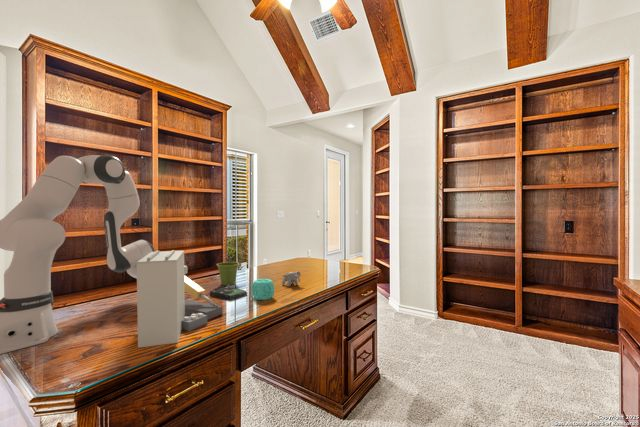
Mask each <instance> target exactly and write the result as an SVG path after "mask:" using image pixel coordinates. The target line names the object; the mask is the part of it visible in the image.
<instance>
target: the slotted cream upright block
mask: <svg viewBox="0 0 640 427" xmlns="http://www.w3.org/2000/svg"><path fill="white" fill-rule="evenodd" d="M184 265H185V250H175V249H172V250H165V251H164V250H163V251H160V250H155V252H151V253H149V254H148V255H146V256H145V257H143V258H142V259H140V260H139V261H137V278H136V296H137V297H136V298H137V304H136V305H137V307H136V308H137V312H136V313H137V348H138V349H139V348H145V347H155V346H161V345H170V344H178V343H179V340H180V337H181V334H182V330H183V329H182V319H183V318H184V317H186V316H185V300H186V296H185V295H186V294H185V293H186V291H185V279H184V275H185V274H184Z"/></svg>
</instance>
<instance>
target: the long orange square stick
mask: <svg viewBox="0 0 640 427" xmlns="http://www.w3.org/2000/svg"><path fill="white" fill-rule="evenodd" d="M184 279H185V293H187V294H188V295H190V296H191V297H192V298H193V299H195V300H200V299H203V300H205V301H206V303H208V304H211V305H213V306H216V307H218V306H219V305H217V303H216V301H214V300H212V299H211V298H209V297H208V296H207V295H205V293H206V289H204V287H201V285H199V284H198V283H196V282H195V281H193V280H192V279H191V278H189V277H187V275H186V274H184Z"/></svg>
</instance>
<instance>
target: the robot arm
mask: <svg viewBox="0 0 640 427" xmlns="http://www.w3.org/2000/svg"><path fill="white" fill-rule="evenodd" d="M81 184H86V185H87V184H94V185H95V184H96V185H98V184H101V185H102V186H103V187H104V189H105V192H106V196H107V199H108V200H107V201H108V209H107V211H106V213H104V215H103V216H104V217H103V223H104V224H103V226H104V237H105V247H106V257H105V258H106V259H105V261H106V265H107V267H108V269H110V270H111V271H112V272H116V273H120V274H121V273H124V272H126V273H127V274H128V275H129V276H131V277H132V278H134V279H137V261H139V260H140V259H142V258H143V257H145V256H146V255H148V254H149V253H151V252H156V250H155V248H154V245H153V244H152V243H151V242H149V241H148V240H146V239H138V240H136V241H133V242H131V243H129V244H126V245H125V246H122V242H121V232H120V230H121V227H122V225H124V223H125V222H126V221H127V220H128V219H130V218H131V217H132V216H134V215H135V214H136V213H137V211H138V210H139V208H140V205H141V204H140V203H141V202H140V196H139V193H138V189H137V186H136V184H135V181H134V179H133V177H132V175H131V174H130V172H129V171H127V170H126V169H125V166H124V164H123V162H122V161H121V160H120V159H119V158H118V157H116V156H114V155H110V154H102V155H101V154H100V155H99V154H96V155H95V154H91V155H90V154H88V155H85V156H77V157H73V156H70V155H60V156H59V155H58V156H57V157H56V158H54V159H53V160H52V161H51V162H50V163H49V164H48V165H47V166H46V167H45V169H44V170H43V171H42V172H41V173H40V175H39V177H38V178H37V179H36V181H35V183H34V184H33V186H32V187H31V188H30V190H29V191H28V193H27V194H26V196H24V198H23V199H22V200H21V201H20V202H19V203H17V205H16V206H14V207H13V208H12V209H11V211H9V212H8V213H7V214H6V215H5V216H4V217H3V218H2V219H0V249H2V250H4V251H7V252H9V251H10V252H13V255H12V259H11V262H10V264H9V266H8V268H7V269H6V270H5V271H4V273H3V294H4V296H3V297H2V298H0V355H2V354H5V353H10V352H13V351H17V350H20V349H24V348H28V347H32V346H36V345H40V344H44V343H46V342H48V340H49V339H50V338H51V337H53V336H56V335H57V333H58V332H59V328H58V327H57V325H56V321H55V317H54V313H53V307H54V294H53V290H52V289H51V288H52V285H51V284H52V281H51V280H52V279H51V278H52V277H51V276H52V265H53V261H54V259H55V255H56V252H57V250H58V249H59V248H60V247H61V246H62V245H63V244H64V242H65V240H66V237H67V236H66V231H65V230H66V229H65V228H64V226H63V225H61V223H59V222H56V221H54V219H55V218H56V217H58V216H60V215H61V214H63V213H64V212H65V211H66V210H67V208H68V207H69V205H70V203H71V202H72V201H73V199H74V197H75V195H76V193H77V191H78V189H79V188H80V185H81ZM188 269H189V267H188V265H185V264H184V275H186V274H188Z"/></svg>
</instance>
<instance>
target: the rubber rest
mask: <svg viewBox="0 0 640 427" xmlns="http://www.w3.org/2000/svg"><path fill="white" fill-rule="evenodd" d="M196 313H203V314H204V315H207V321H208V320H212V319H213V318H216V317H218V316H220V315H223V306H222V305H218V307H216V306H213V305H211V304H210V303H208V302H201V301H198V300H197V301H196V300H191V299H185V317H186V316H187V317H189V316H191V314H196Z"/></svg>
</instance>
